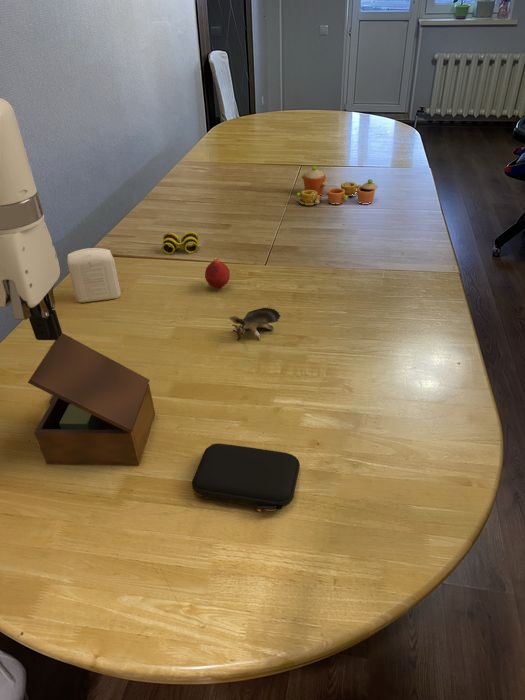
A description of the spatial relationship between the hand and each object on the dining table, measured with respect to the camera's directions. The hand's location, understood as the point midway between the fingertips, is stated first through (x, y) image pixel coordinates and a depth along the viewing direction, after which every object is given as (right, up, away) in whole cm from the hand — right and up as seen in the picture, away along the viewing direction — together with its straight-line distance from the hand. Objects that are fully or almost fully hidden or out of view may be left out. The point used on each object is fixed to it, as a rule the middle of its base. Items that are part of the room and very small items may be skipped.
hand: (49, 336), depth 73 cm
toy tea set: (+55, +48, +99) cm, 123 cm away
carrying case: (+28, -22, +3) cm, 35 cm away
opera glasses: (+8, +25, +70) cm, 75 cm away
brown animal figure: (+29, +1, +34) cm, 45 cm away
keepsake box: (+4, -16, +11) cm, 20 cm away
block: (+1, -16, +11) cm, 19 cm away
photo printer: (-9, +10, +50) cm, 51 cm away
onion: (+20, +13, +51) cm, 56 cm away
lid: (+5, -7, +5) cm, 9 cm away
